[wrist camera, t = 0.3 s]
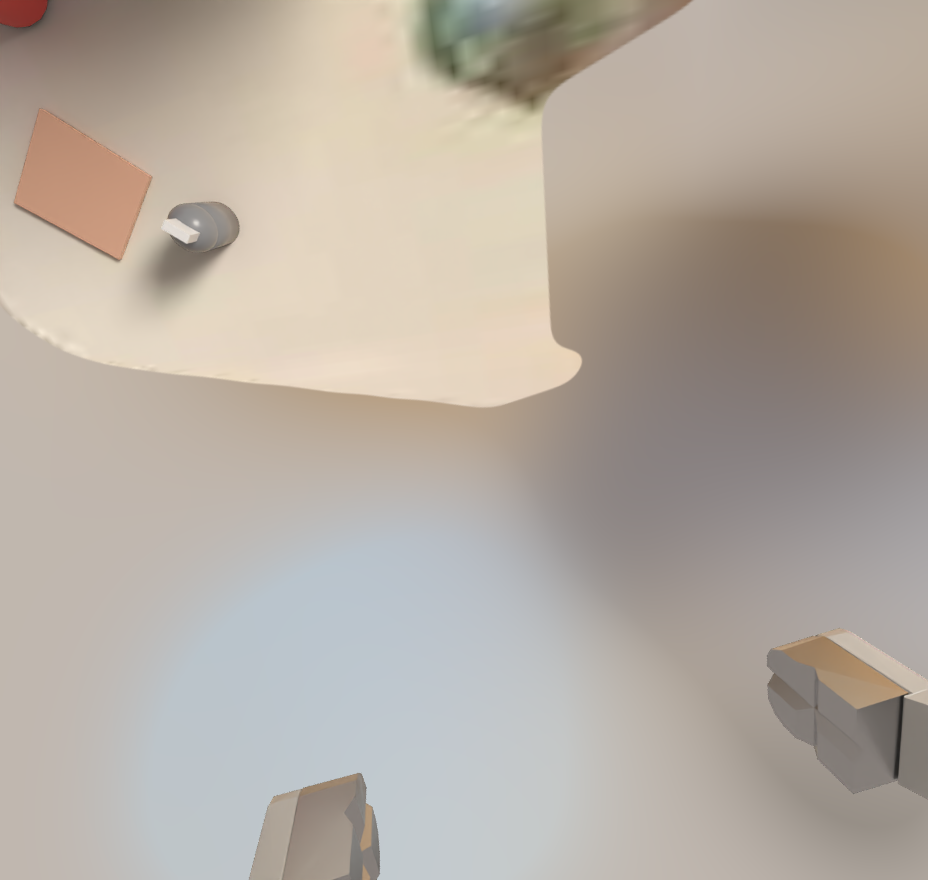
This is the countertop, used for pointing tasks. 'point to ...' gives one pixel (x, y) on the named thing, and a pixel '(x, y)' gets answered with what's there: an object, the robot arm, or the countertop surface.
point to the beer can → (21, 12)
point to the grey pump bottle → (202, 226)
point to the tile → (81, 185)
